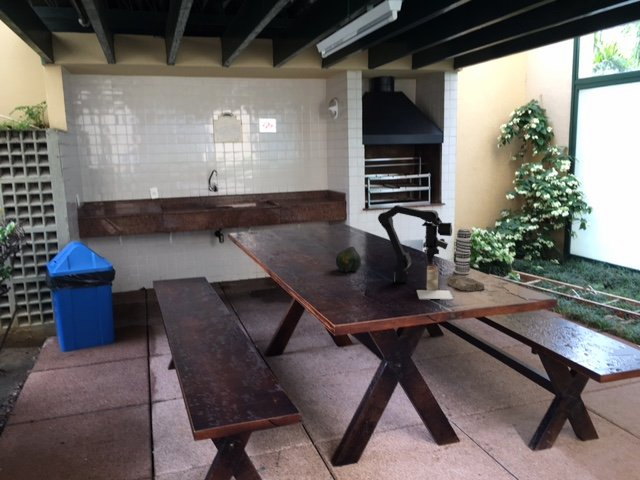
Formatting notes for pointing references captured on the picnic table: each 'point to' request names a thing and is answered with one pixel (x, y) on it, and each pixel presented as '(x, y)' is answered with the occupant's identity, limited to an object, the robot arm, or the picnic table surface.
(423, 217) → the robot arm
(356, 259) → the squash
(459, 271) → the decorative candle
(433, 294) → the white board
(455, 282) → the flat brown rock
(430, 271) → the birch block
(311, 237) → the picnic table surface
